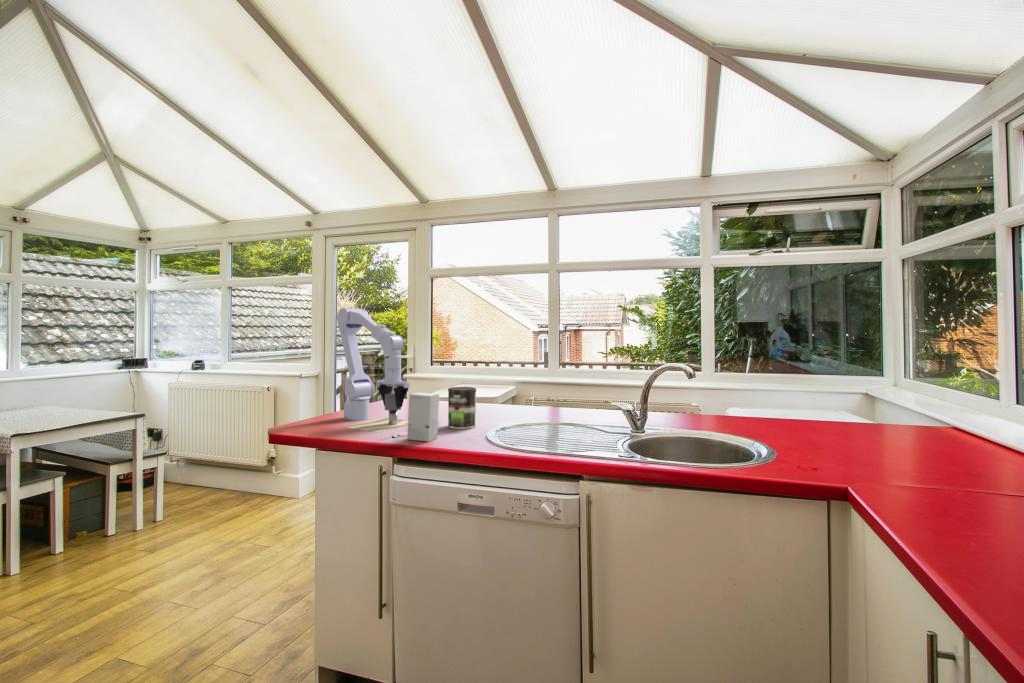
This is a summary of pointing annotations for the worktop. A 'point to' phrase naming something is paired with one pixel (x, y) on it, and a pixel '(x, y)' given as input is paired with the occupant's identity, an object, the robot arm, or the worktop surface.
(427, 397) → the skincare box
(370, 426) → the beige cloth
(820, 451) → the worktop surface
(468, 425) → the coffee can
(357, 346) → the robot arm
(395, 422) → the post
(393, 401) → the cap
